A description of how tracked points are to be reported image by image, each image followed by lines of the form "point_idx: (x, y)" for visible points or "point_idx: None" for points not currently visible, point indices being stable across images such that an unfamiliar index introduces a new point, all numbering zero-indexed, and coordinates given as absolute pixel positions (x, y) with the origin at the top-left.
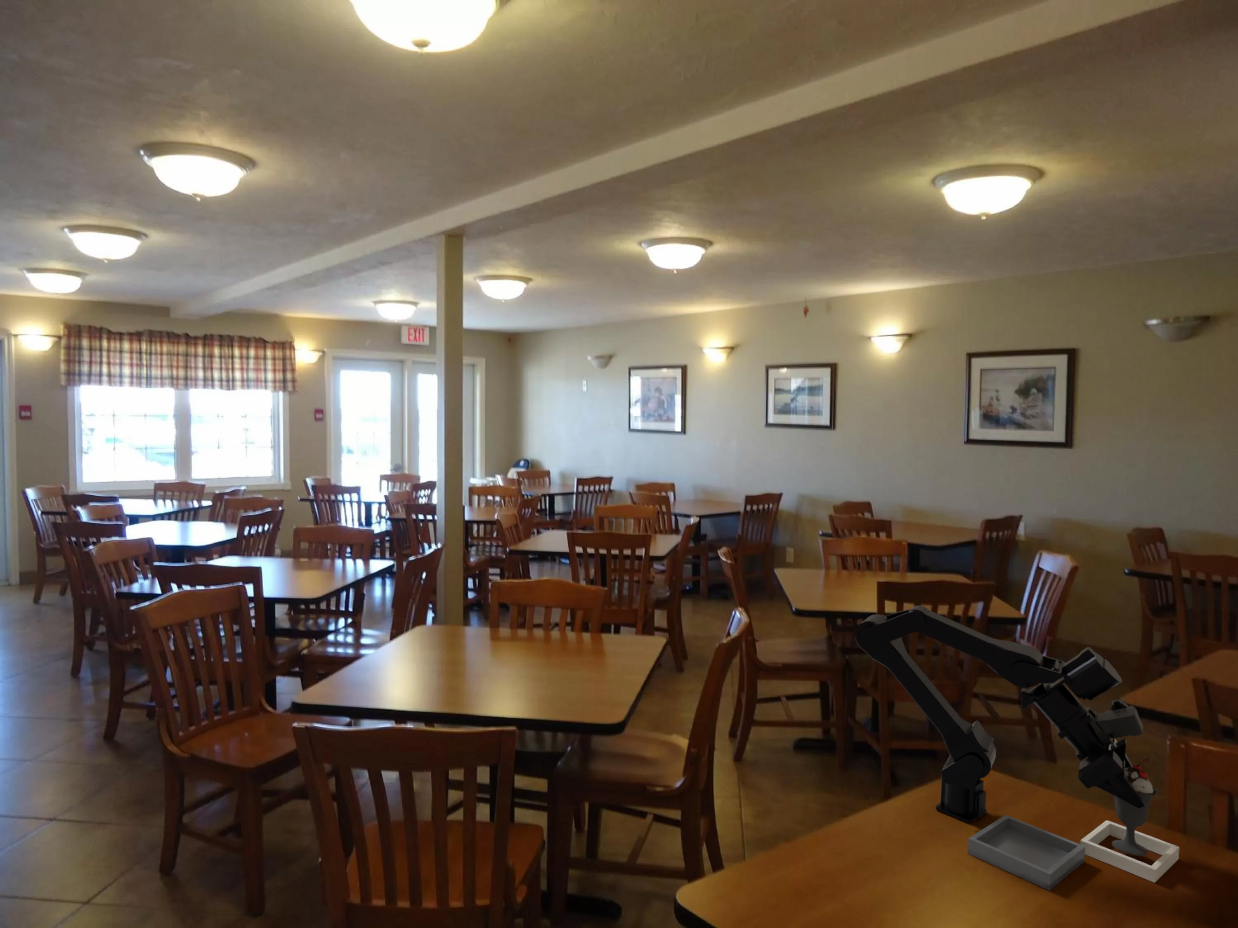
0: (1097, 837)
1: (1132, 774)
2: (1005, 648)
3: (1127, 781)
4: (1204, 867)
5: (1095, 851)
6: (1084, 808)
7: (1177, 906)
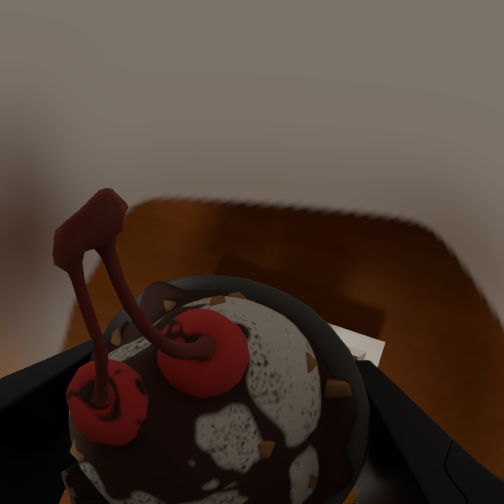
0: None
1: (230, 457)
2: None
3: (494, 477)
4: (222, 238)
5: None
6: None
7: (447, 302)
